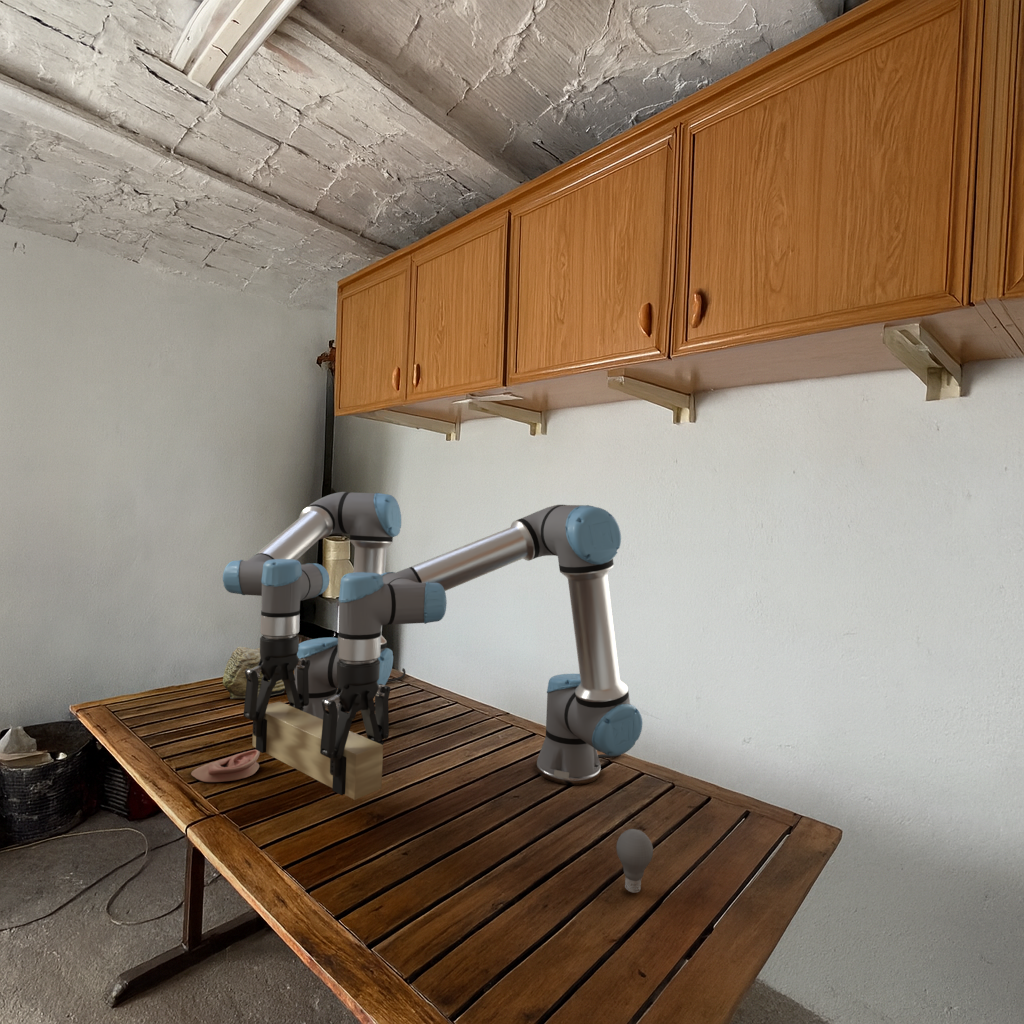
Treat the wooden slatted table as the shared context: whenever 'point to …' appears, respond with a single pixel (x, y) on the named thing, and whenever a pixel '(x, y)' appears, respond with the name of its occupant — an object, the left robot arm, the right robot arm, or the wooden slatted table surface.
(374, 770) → the birch beam
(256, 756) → the anatomical model
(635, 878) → the light bulb
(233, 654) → the fossil
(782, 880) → the wooden slatted table surface
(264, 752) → the left robot arm
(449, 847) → the wooden slatted table surface
